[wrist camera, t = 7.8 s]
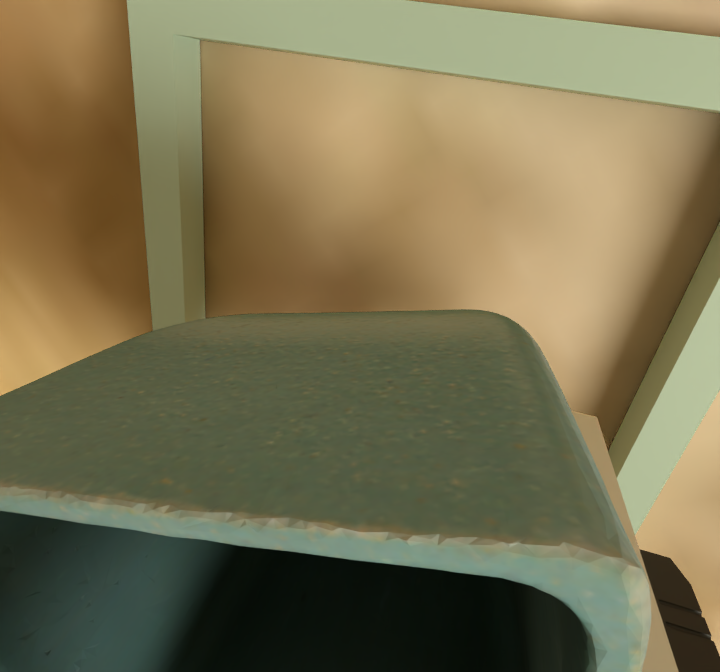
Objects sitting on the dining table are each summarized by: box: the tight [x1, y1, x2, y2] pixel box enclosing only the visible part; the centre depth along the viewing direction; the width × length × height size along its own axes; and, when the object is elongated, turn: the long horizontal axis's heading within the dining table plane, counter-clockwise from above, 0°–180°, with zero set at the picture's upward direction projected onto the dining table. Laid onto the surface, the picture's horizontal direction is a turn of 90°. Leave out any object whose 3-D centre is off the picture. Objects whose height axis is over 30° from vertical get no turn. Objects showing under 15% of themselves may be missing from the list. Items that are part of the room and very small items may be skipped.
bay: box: [127, 0, 720, 534], centre depth 17 cm, size 20×20×2 cm
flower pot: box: [0, 310, 651, 672], centre depth 10 cm, size 9×9×9 cm
